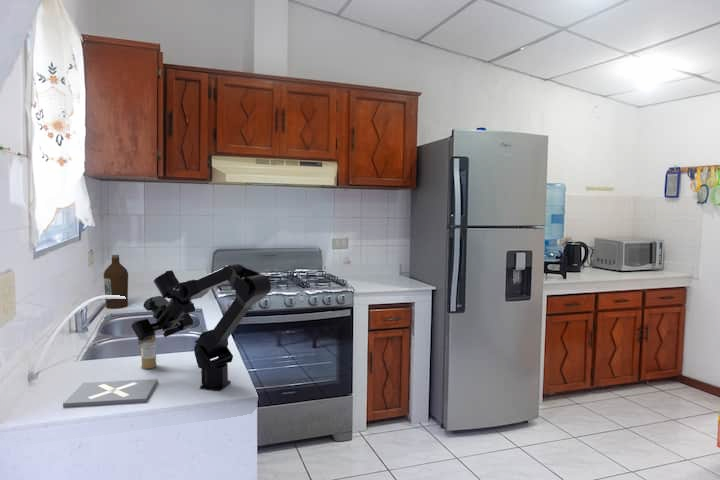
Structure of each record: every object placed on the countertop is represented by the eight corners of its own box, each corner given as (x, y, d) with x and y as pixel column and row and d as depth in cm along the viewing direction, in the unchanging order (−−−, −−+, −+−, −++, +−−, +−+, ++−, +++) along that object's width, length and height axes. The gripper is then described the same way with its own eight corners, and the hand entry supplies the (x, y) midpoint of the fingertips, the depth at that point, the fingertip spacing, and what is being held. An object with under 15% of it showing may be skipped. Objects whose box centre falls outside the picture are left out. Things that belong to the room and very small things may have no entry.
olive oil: (123, 303, 245) (122, 253, 242) (132, 306, 237) (131, 255, 235) (101, 306, 237) (99, 255, 235) (109, 310, 230) (107, 257, 227)
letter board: (157, 382, 143) (157, 378, 143) (146, 402, 129) (145, 398, 129) (83, 386, 139) (83, 382, 139) (63, 407, 126) (62, 403, 126)
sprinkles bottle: (144, 364, 158) (142, 323, 157) (158, 364, 158) (157, 323, 157) (139, 369, 153) (137, 327, 152) (154, 369, 154) (153, 327, 152)
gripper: (186, 284, 158) (164, 313, 164) (134, 294, 142) (112, 325, 148) (204, 311, 155) (181, 340, 161) (152, 324, 139) (129, 355, 145)
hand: (151, 339), depth 154 cm, fingers open, 9 cm apart
